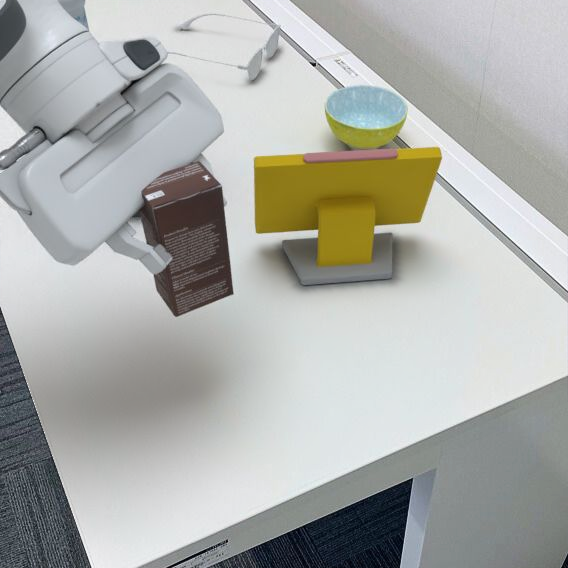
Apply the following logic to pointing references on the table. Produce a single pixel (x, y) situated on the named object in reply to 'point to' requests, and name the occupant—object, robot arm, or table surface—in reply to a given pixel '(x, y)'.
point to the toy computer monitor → (342, 207)
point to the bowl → (365, 115)
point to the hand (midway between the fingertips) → (193, 237)
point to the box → (188, 237)
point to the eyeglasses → (256, 59)
